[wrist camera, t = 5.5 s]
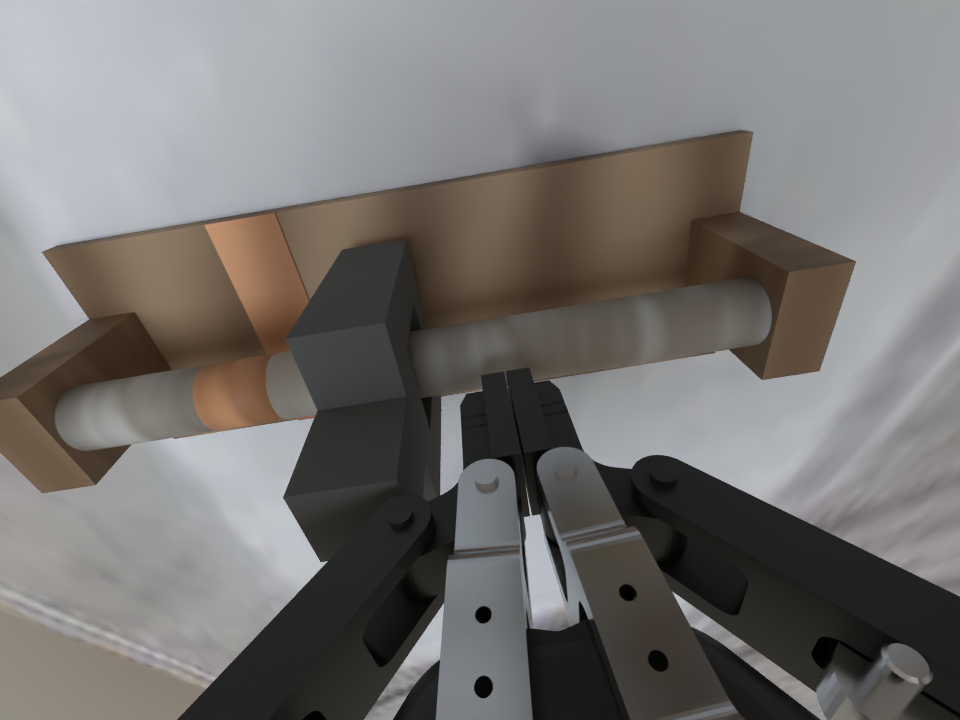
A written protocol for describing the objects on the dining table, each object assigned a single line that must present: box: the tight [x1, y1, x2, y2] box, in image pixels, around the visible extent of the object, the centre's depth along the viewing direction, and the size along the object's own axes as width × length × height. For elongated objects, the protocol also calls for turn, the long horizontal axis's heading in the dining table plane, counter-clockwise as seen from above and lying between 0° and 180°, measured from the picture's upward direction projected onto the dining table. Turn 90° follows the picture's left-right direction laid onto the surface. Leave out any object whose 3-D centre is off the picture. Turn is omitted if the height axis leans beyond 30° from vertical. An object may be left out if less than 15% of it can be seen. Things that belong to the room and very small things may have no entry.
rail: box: [0, 130, 856, 493], centre depth 17 cm, size 28×10×7 cm, turn 98°
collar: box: [283, 239, 441, 562], centre depth 14 cm, size 2×7×10 cm, turn 8°
